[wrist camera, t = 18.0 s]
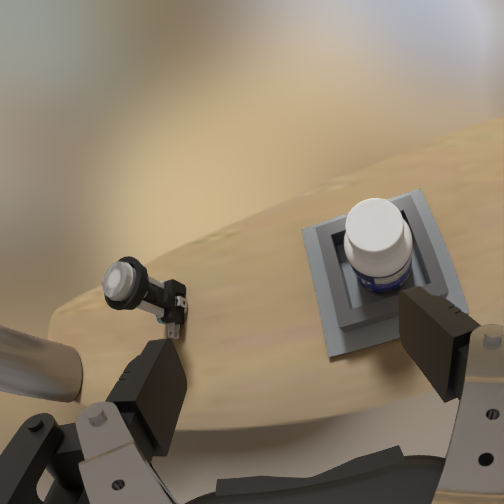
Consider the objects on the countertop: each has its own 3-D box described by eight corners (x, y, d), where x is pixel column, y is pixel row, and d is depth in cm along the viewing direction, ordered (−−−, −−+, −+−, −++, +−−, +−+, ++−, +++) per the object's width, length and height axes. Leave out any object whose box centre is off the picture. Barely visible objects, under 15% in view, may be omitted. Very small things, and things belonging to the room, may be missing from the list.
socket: (329, 357, 26) (321, 354, 24) (302, 231, 33) (293, 217, 30) (468, 313, 22) (475, 305, 20) (420, 191, 28) (420, 173, 26)
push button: (197, 336, 33) (130, 315, 25) (161, 342, 35) (93, 323, 27) (195, 280, 36) (135, 245, 28) (161, 290, 38) (99, 260, 30)
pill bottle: (346, 257, 29) (323, 210, 22) (394, 231, 28) (387, 176, 20) (369, 307, 26) (355, 275, 19) (421, 280, 25) (427, 237, 18)
